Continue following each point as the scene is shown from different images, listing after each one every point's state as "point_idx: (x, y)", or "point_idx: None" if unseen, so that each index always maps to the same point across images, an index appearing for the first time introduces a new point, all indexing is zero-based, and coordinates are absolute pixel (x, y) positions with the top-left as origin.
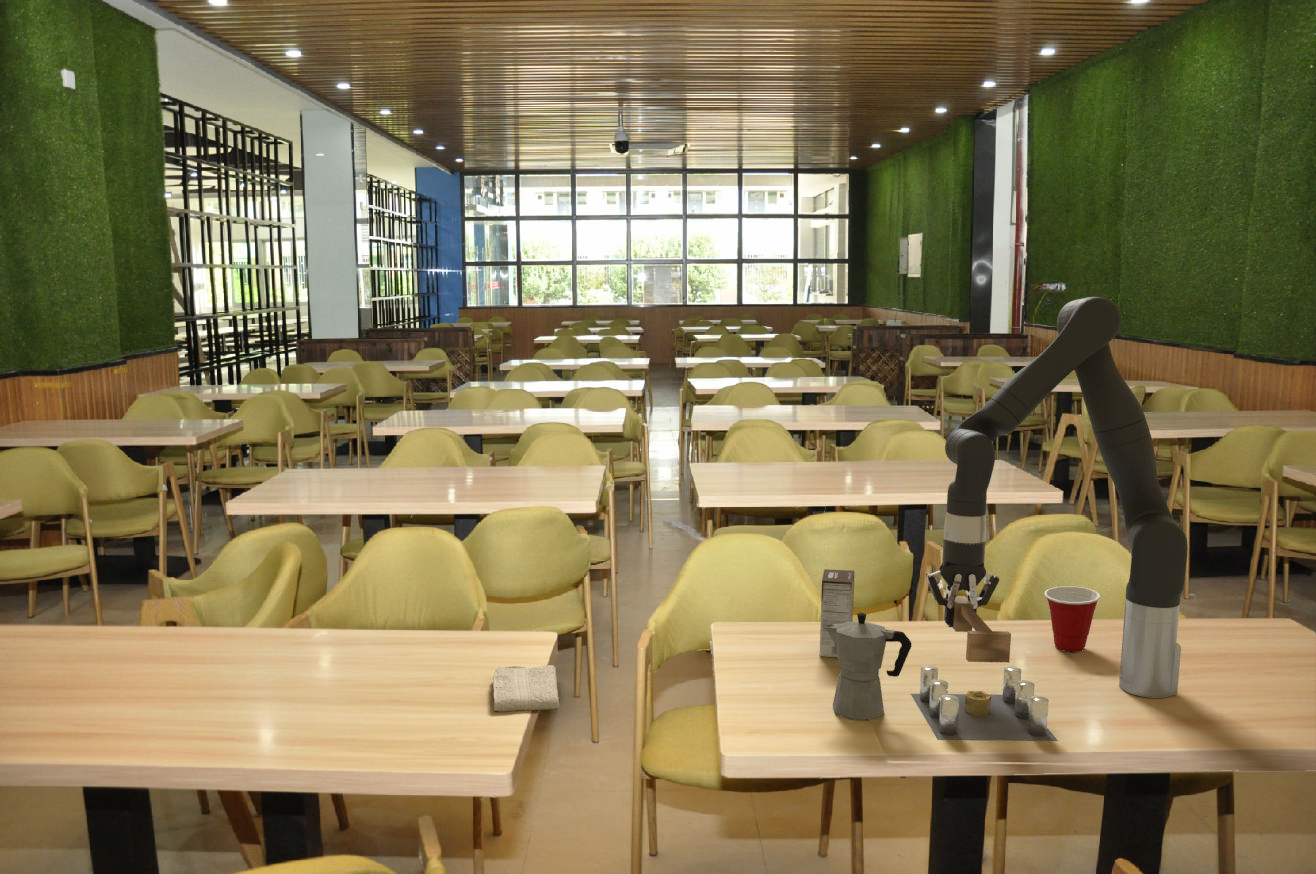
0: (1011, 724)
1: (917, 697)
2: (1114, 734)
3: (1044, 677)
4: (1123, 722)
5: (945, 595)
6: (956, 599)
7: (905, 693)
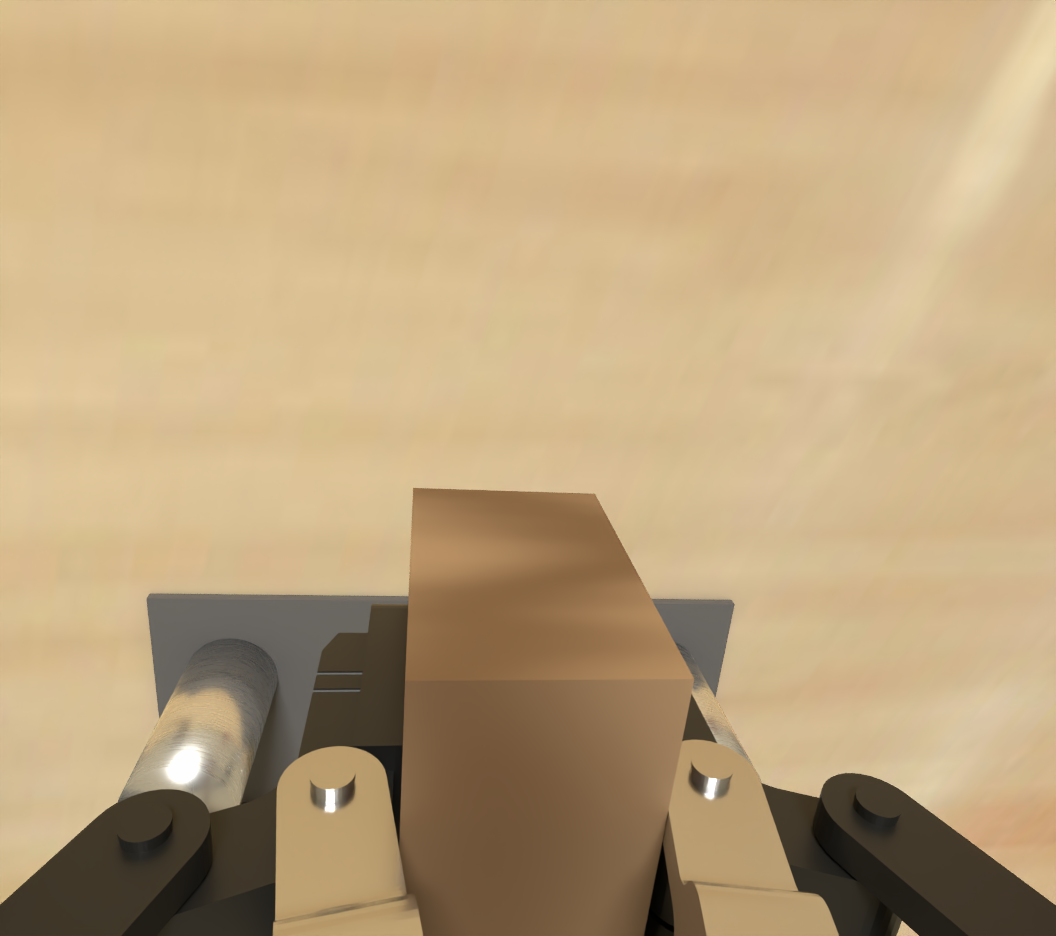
0: None
1: (178, 646)
2: None
3: (1011, 344)
4: (993, 825)
5: (277, 881)
6: (478, 841)
7: (123, 566)
